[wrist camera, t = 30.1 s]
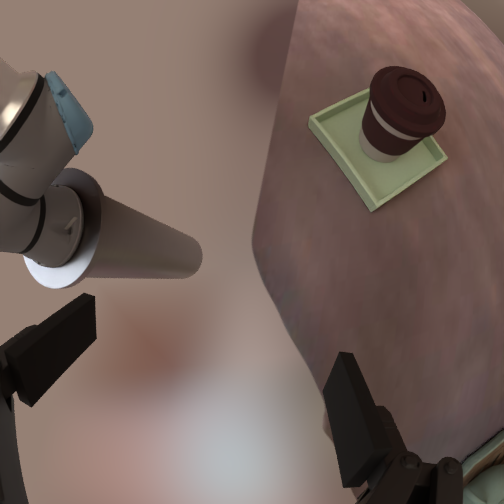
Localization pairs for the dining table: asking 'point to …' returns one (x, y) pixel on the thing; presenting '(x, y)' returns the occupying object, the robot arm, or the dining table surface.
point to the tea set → (485, 474)
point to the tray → (359, 163)
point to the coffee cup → (399, 113)
